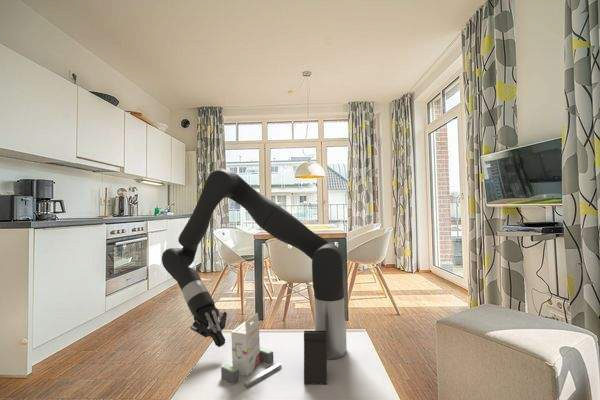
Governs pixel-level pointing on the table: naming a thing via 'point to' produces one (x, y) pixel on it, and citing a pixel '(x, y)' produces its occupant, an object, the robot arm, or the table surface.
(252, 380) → the rail
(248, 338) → the ink cartridge box
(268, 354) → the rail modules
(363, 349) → the table surface
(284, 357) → the table surface
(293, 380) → the table surface
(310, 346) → the phone stand
